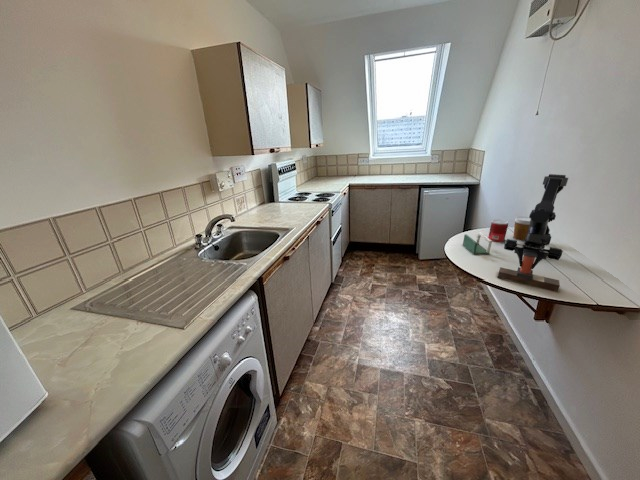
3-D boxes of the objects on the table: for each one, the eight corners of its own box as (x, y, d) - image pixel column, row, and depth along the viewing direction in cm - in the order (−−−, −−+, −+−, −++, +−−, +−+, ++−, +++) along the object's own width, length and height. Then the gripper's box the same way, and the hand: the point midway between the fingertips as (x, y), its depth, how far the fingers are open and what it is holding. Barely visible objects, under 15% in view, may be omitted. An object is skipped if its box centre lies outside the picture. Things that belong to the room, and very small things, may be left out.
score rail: (497, 277, 115) (498, 271, 114) (498, 272, 119) (500, 266, 118) (557, 292, 104) (559, 285, 102) (556, 286, 107) (559, 279, 106)
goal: (477, 244, 147) (479, 232, 145) (489, 254, 136) (492, 240, 134) (462, 245, 148) (464, 232, 145) (473, 254, 137) (475, 241, 134)
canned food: (507, 242, 150) (511, 223, 145) (492, 242, 150) (497, 224, 146) (498, 237, 157) (503, 219, 152) (485, 237, 157) (489, 219, 153)
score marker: (516, 276, 110) (522, 254, 106) (517, 270, 114) (523, 249, 111) (531, 279, 107) (538, 257, 103) (531, 273, 112) (538, 252, 108)
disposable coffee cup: (519, 234, 158) (525, 215, 154) (534, 240, 150) (540, 220, 145) (505, 236, 157) (510, 217, 153) (519, 242, 148) (525, 222, 144)
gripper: (510, 221, 111) (500, 254, 108) (569, 230, 100) (560, 267, 97) (509, 233, 120) (499, 263, 116) (563, 242, 108) (554, 277, 105)
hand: (526, 267), depth 108 cm, fingers closed on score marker, 3 cm apart
